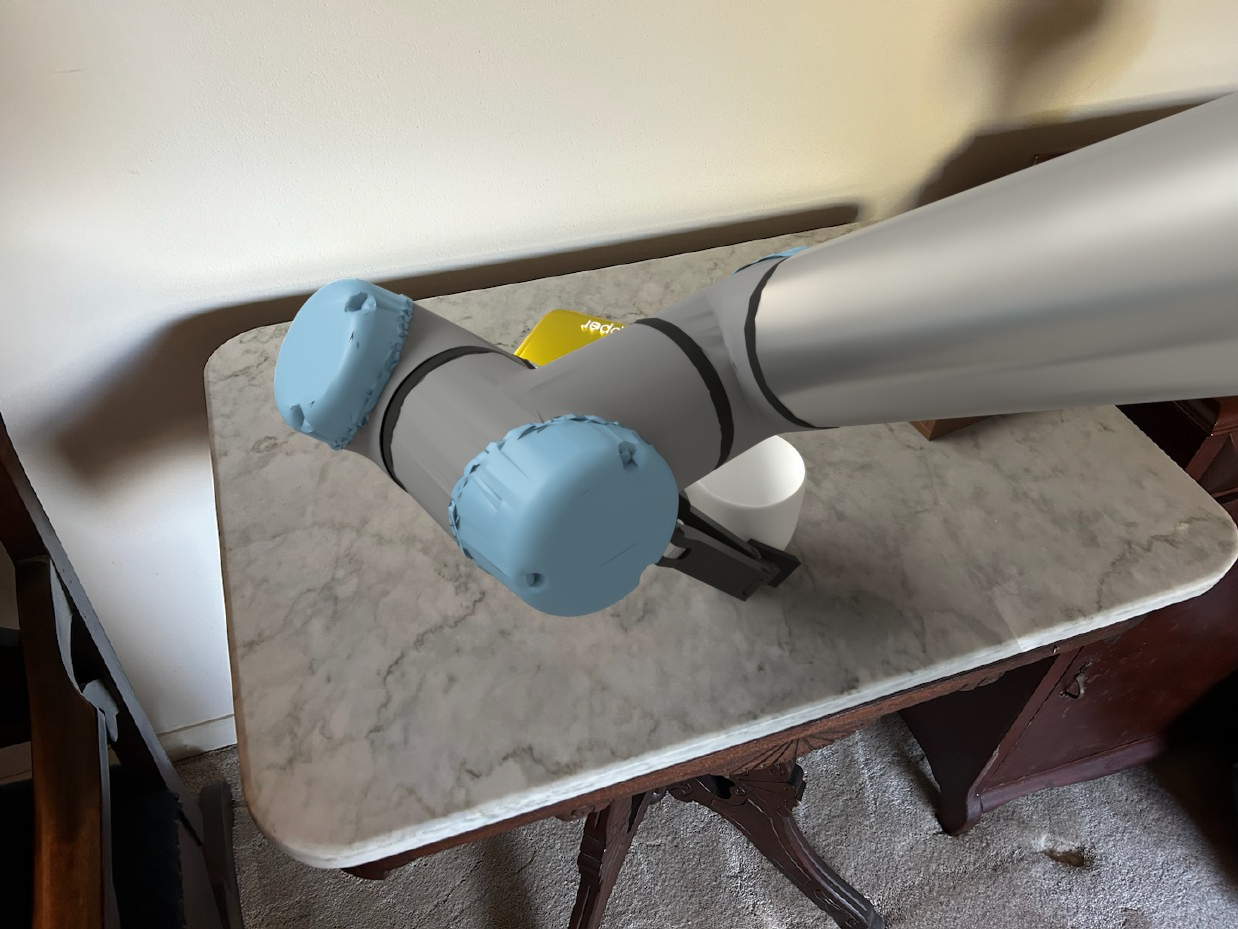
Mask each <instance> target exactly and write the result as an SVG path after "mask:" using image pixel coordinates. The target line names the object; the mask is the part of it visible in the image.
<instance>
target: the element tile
mask: <svg viewBox="0 0 1238 929" xmlns="http://www.w3.org/2000/svg"><path fill="white" fill-rule="evenodd" d="M627 325H628V324H625V323H621V322H617V321H613V320H609V319H607V318H603V317H600V316H599V317H598V316H595V315H591V314H587V313H584V312H581V311H577V310H576V311H575V310H572V309H565V308H564V309H562V308H555V309H553V310H551V311H549V312H547V313H546V314H545V315H543V316H542V317H541V318H540V320H539V321H538V322H537V324H536V325H535V326H534V327H533V329H532V330H531V332H530V333H529V334H528V335H527V336H526V338H525V339H524V340H523V342H522V343H520V345H519V347H518V348H517V349H516V351H515V352H514V353H513V354H514V355H516V356H518V357H521V358H523V359H527V360H529V361H531V362H533V363H535V364H537V365H539V366H543V365H545V364H548V363H550V362H552V361H554V360H556V359H558V358H560V357H562V356H564V355H566V354H568V353H570V352H572V351H574V350H577V349H579V348H581V347H583V346H585V345H587V344H589V343H591V342H594V341H596V340H598V339H600V338H602V337H604V336H606V335H608V334H610V333H613V332H615V331H617V330H619V329H621V328H623V327H625V326H627Z"/></svg>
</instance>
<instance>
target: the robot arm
mask: <svg viewBox="0 0 1238 929" xmlns="http://www.w3.org/2000/svg"><path fill="white" fill-rule="evenodd" d="M626 325H627V326H625V327H623V328H621V329H619V330H617V331H615V332H613V333H610V334H608V335H606V336H604V337H602V338H600V339H598V340H596V341H594V342H591V343H589V344H587V345H585V346H583V347H581V348H579V349H577V350H574V351H572V352H570V353H568V354H566V355H564V356H562V357H560V358H558V359H556V360H554V361H552V362H550V363H548V364H545V365H543V366H539V365H537V364H535V363H533V362H531V361H529V360H527V359H523V358H521V357H518V356H516V355H514V353H510V352H508V351H507V350H505V349H503V348H501V347H500V346H497V345H495V344H494V343H492V342H490V341H489V340H486V339H485V338H483V337H481V336H479V335H478V334H475V333H474V332H472V331H471V330H468V329H467V328H465V327H462V326H461V325H459V324H457V323H455V322H452V321H451V320H449V319H447V318H445V317H443V316H441V315H439V314H437V313H435V312H433V311H431V310H429V309H427V308H425V307H423V306H421V305H420V304H417V303H415V301H414V300H413V299H412V298H411V297H409V296H407V295H405V294H404V293H401V294H398V293H395V292H392V291H390V290H388V289H386V288H383V287H382V286H380V285H376V284H374V283H372V282H370V281H367V280H365V279H363V278H358V277H343V278H339V279H336V280H333V281H330V282H328V283H326V284H325V285H323V286H322V287H320V288H319V289H318V290H316V292H314V293H313V294H312V295H311V296H309V298H308V299H307V301H306V302H305V303H304V304H303V305H302V306H301V308H300V309H299V311H298V312H297V313H296V315H295V316H294V319H293V320H292V322H291V324H290V326H289V328H288V330H287V332H286V334H285V336H284V338H283V340H282V343H281V346H280V350H279V352H278V356H277V360H276V364H275V370H274V376H273V377H274V378H273V391H274V393H273V394H274V400H275V404H276V407H277V410H278V412H279V413H278V414H280V417H281V418H282V419H283V421H284V422H285V423H286V424H287V425H288V426H289V427H290V428H291V429H293V430H294V431H296V432H298V433H301V435H304V436H308V437H310V438H311V439H315V440H318V441H320V442H322V443H324V444H327V446H328V447H329V448H330V449H331V450H333V451H337V452H338V451H339V450H341V451H342V450H344V451H349V452H352V453H356V454H357V455H360V456H363V457H364V458H367V459H368V460H370V461H371V462H373V463H374V464H375V465H376V466H377V467H378V468H379V469H380V470H381V471H382V472H383V473H384V474H385V475H386V476H387V477H388V478H389V479H390V480H391V481H392V482H393V483H394V484H396V485H397V486H398V487H399V488H400V489H401V490H402V491H404V492H405V493H406V494H408V495H409V496H410V497H412V499H413V500H414V501H415V502H416V503H417V504H418V505H419V506H420V507H421V508H422V509H423V510H424V511H425V512H426V514H428V515H429V516H430V518H432V519H433V520H434V522H436V523H437V525H438V526H439V527H440V528H441V529H442V530H443V531H444V532H445V533H446V534H447V535H448V536H449V537H450V538H451V539H452V540H453V541H454V543H455V544H456V545H457V546H458V548H459V549H460V551H461V553H462V554H463V555H464V557H466V558H467V559H470V561H471V562H473V564H474V565H475V566H476V568H478V569H479V570H482V571H483V572H485V573H487V574H488V575H490V576H492V577H493V578H494V579H496V580H497V581H498V582H499V583H501V584H502V585H503V586H504V587H506V588H507V589H508V590H509V591H510V592H512V593H513V594H514V595H515V596H517V597H518V598H519V599H520V600H522V601H523V602H524V603H525V604H527V605H528V606H529V607H531V608H532V609H534V610H537V611H539V612H541V613H544V614H547V615H550V616H556V617H565V618H574V617H582V616H588V615H591V614H594V613H597V612H600V611H603V610H606V609H607V608H609V607H611V606H613V605H615V604H617V603H618V602H620V601H621V600H624V598H626V597H628V596H629V595H630V594H631V593H632V592H634V591H635V590H636V589H637V588H638V587H639V585H640V579H641V576H642V574H643V573H644V572H645V571H646V569H647V567H648V566H649V567H650V566H651V565H655V566H656V567H661V568H667V569H669V568H670V569H674V570H676V571H678V572H680V573H683V574H685V575H686V576H689V577H690V578H692V579H695V580H698V581H700V582H702V583H704V584H706V585H708V586H710V587H712V588H714V589H716V590H718V591H720V592H723V593H725V594H727V595H729V596H732V597H733V598H736V599H738V600H740V601H741V602H747V601H748V600H749V599H750V598H751V597H752V596H753V595H754V594H755V593H756V592H757V591H758V590H759V589H761V587H762V586H767V587H771V588H773V589H777V588H778V587H779V586H780V585H781V584H782V583H783V582H784V581H785V580H786V579H787V578H789V576H791V574H793V573H794V572H795V571H796V570H797V569H798V568H799V567H800V566H801V565H802V561H800V559H799V558H798V557H797V556H796V555H794V554H792V553H789V552H787V551H785V550H784V551H782V550H779V549H777V548H774V547H771V546H769V545H766V544H764V543H761V542H759V541H756V540H754V539H751V538H750V539H749V540H748V541H747V542H745V541H743V540H742V539H740V538H739V537H738V536H736V535H735V534H733V533H732V532H730V531H729V530H727V529H726V528H725V527H723V526H722V525H720V524H719V523H717V522H716V521H714V520H713V519H711V518H710V517H709V516H707V515H706V514H704V513H703V512H701V511H700V510H698V509H697V508H696V507H694V506H693V505H691V504H690V501H689V498H688V496H687V493H686V492H685V491H684V489H685V488H687V487H688V486H690V485H692V484H693V483H695V482H697V481H698V480H700V479H701V478H703V477H705V476H706V475H708V474H710V473H711V472H712V471H714V470H716V469H718V468H719V467H721V466H722V465H724V464H725V463H727V462H729V461H730V460H732V459H734V458H735V457H737V456H739V455H740V454H742V453H744V452H745V451H747V450H749V449H750V448H752V447H754V446H755V445H757V444H759V443H760V442H762V441H764V440H766V439H768V438H770V437H772V436H775V435H777V436H778V435H782V434H789V433H800V432H802V433H803V432H813V431H815V432H816V431H826V430H834V429H840V428H843V427H844V428H845V427H858V426H870V425H881V424H883V425H884V424H893V423H895V424H896V423H907V422H908V423H909V421H921V420H934V419H946V418H959V417H971V416H984V415H993V416H995V415H1007V414H1019V413H1033V412H1046V411H1057V410H1069V409H1083V408H1096V407H1108V406H1120V405H1122V406H1123V405H1133V404H1144V403H1158V402H1159V403H1160V402H1169V401H1170V402H1172V401H1183V400H1196V399H1208V398H1221V397H1222V398H1223V397H1233V396H1238V91H1236V92H1233V93H1230V94H1227V95H1225V96H1221V97H1219V98H1216V99H1214V100H1211V101H1208V102H1205V103H1203V104H1199V105H1198V106H1194V107H1191V108H1189V109H1186V110H1183V111H1181V112H1178V113H1175V114H1173V115H1170V116H1167V117H1164V118H1161V119H1159V120H1156V121H1153V122H1151V123H1147V124H1145V125H1142V126H1140V127H1137V128H1134V129H1131V130H1128V131H1126V132H1123V133H1120V134H1118V135H1115V136H1112V137H1109V138H1106V139H1104V140H1101V141H1098V142H1096V143H1093V144H1090V145H1088V146H1085V147H1081V148H1079V149H1076V150H1073V151H1071V152H1068V153H1065V154H1063V155H1060V156H1056V157H1054V158H1051V159H1049V160H1046V161H1044V162H1040V163H1038V164H1035V165H1032V166H1029V167H1027V168H1024V169H1021V170H1019V171H1016V172H1013V173H1010V174H1007V175H1005V176H1002V177H999V178H997V179H993V180H991V181H988V182H985V183H982V184H980V185H977V186H974V187H972V188H969V189H966V190H964V191H961V192H958V193H955V194H952V195H949V196H947V197H944V198H942V199H938V200H936V201H933V202H930V203H928V204H925V205H922V206H920V207H917V208H914V209H911V210H909V211H906V212H902V213H900V214H898V215H895V216H892V217H889V218H887V219H884V220H881V221H878V222H876V223H872V224H871V225H867V226H865V227H862V228H859V229H856V230H854V231H851V232H848V233H846V234H843V235H840V236H837V237H835V238H832V239H829V240H826V241H823V242H821V243H817V244H815V245H811V246H809V245H803V246H797V247H793V248H789V249H787V250H784V251H782V252H777V253H773V254H769V255H766V256H763V257H761V258H758V259H756V260H754V261H752V262H751V263H748V264H745V265H744V266H741V267H739V268H738V269H735V270H734V271H732V273H731V274H730V275H728V276H726V277H724V278H722V279H720V280H717V281H716V282H714V283H712V284H710V285H707V286H706V287H704V288H701V289H699V290H697V291H695V292H693V293H692V294H689V295H687V296H685V297H684V298H681V299H680V300H678V301H676V302H673V303H672V304H670V305H667V306H666V307H664V308H662V309H659V310H658V311H656V312H654V313H651V314H650V315H648V316H646V317H643V318H639V319H636V320H635V321H633V322H631V323H629V324H626Z"/></svg>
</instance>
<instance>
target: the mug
mask: <svg viewBox="0 0 1238 929" xmlns="http://www.w3.org/2000/svg"><path fill="white" fill-rule="evenodd" d="M807 480H808V472H807V466H806V463H805V461H804V458H803V456H802V455H801V453H800V452H799V450H798V449H796V447H794V445H792V444H791V443H790V442H789V441H787V440H786V439H784V438H782V437H781V436H778V435H775V436H772V437H770V438H768V439H766V440H764V441H762V442H760V443H759V444H757V445H755V446H754V447H752V448H750V449H749V450H747V451H745V452H744V453H742V454H740V455H739V456H737V457H735V458H734V459H732V460H730V461H729V462H727V463H725V464H724V465H722V466H721V467H719V468H718V469H716V470H714V471H712V472H711V473H710V474H708V475H706V476H705V477H703V478H701V479H700V480H698V481H697V482H695V483H693V484H692V485H690V486H688V487H687V488H685V489H684V491H685V492H686V493H687V496H688V498H689V501H690V504H691V505H693V506H694V507H696V508H697V509H698V510H700V511H701V512H703V513H704V514H706V515H707V516H709V517H710V518H711V519H713V520H714V521H716V522H717V523H719V524H720V525H722V526H723V527H725V528H726V529H727V530H729V531H730V532H732V533H733V534H735V535H736V536H738V537H739V538H740V539H742V540H743V541H745V542H747V541H748V540H749V539H750V538H751V539H754V540H756V541H759V542H761V543H764V544H766V545H769V546H771V547H774V548H777V549H779V550H782V551H784V552H785V550H786V549H787V547H788V545H789V543H790V541H791V540H792V538H793V536H794V534H795V531H796V528H797V524H798V522H799V518H800V513H801V509H802V505H803V501H804V496H805V492H806V486H807Z"/></svg>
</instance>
